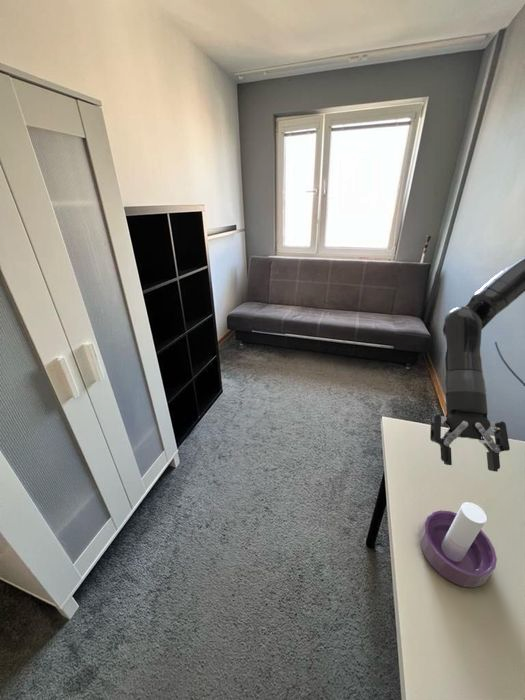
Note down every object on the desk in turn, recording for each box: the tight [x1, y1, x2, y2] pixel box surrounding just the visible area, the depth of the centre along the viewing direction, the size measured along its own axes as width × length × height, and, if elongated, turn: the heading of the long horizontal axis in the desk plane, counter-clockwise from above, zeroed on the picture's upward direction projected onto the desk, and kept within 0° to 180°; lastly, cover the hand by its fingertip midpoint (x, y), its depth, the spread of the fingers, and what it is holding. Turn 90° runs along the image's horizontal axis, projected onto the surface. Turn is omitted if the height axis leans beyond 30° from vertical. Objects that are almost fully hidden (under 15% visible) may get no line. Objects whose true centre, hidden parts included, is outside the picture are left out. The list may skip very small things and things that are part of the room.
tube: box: [441, 501, 488, 562], centre depth 60 cm, size 4×4×15 cm
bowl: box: [419, 509, 498, 589], centre depth 62 cm, size 13×13×6 cm
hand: (469, 467), depth 59 cm, fingers open, 8 cm apart
